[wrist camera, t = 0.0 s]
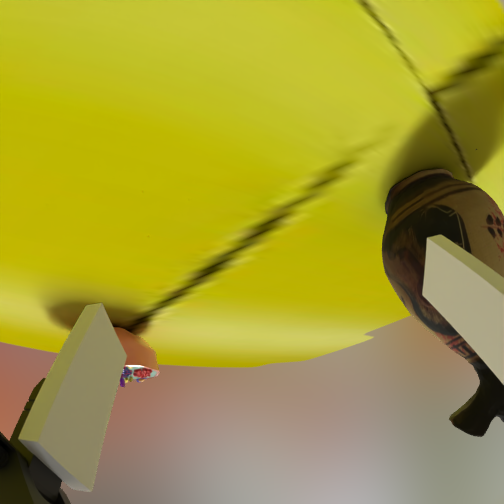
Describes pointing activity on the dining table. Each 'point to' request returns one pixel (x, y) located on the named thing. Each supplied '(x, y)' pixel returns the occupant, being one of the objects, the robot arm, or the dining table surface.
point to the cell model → (136, 358)
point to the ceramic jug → (413, 266)
